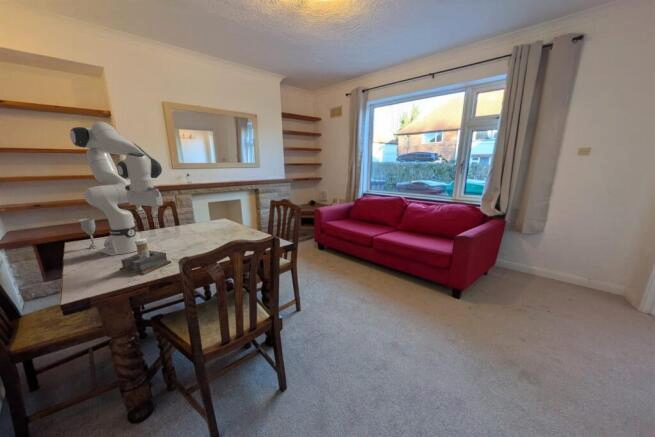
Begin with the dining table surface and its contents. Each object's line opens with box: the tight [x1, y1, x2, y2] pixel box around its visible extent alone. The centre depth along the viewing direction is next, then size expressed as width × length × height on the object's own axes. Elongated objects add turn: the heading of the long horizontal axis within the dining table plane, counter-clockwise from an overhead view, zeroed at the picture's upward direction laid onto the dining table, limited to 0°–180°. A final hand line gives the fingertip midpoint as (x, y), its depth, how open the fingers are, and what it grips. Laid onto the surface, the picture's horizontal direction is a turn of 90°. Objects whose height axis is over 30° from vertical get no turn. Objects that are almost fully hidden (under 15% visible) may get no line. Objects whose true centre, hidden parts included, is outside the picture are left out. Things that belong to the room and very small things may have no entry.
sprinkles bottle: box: [135, 238, 150, 260], centre depth 124 cm, size 5×5×14 cm
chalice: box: [78, 217, 100, 249], centre depth 153 cm, size 7×7×18 cm
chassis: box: [119, 249, 172, 276], centre depth 125 cm, size 17×14×6 cm
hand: (148, 213), depth 127 cm, fingers open, 8 cm apart
